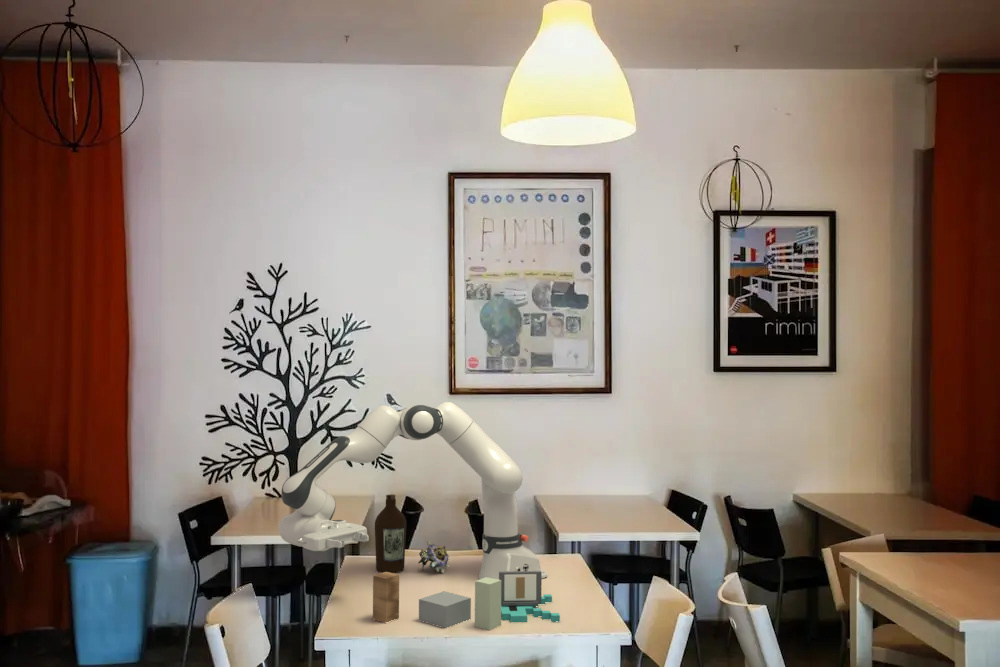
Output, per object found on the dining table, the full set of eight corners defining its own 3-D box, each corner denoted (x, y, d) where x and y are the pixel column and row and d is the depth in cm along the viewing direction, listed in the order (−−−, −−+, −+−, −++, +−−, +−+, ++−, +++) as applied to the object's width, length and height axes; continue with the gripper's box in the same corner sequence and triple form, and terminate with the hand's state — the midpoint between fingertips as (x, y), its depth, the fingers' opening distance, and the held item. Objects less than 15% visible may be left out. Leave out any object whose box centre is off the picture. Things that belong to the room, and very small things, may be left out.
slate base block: (444, 612, 234) (444, 591, 234) (470, 620, 227) (470, 597, 228) (418, 621, 226) (418, 599, 226) (445, 629, 220) (445, 606, 220)
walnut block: (385, 615, 230) (386, 571, 231) (398, 618, 228) (399, 574, 228) (372, 619, 226) (373, 575, 227) (386, 623, 223) (386, 578, 224)
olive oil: (370, 567, 281) (371, 493, 282) (400, 564, 286) (401, 491, 286) (379, 575, 272) (379, 498, 272) (410, 572, 276) (410, 496, 277)
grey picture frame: (539, 599, 239) (539, 568, 239) (541, 605, 234) (541, 572, 234) (498, 600, 238) (498, 568, 238) (499, 605, 233) (499, 573, 233)
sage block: (486, 621, 225) (486, 577, 226) (501, 625, 222) (501, 580, 223) (474, 626, 221) (475, 581, 222) (489, 630, 218) (490, 584, 219)
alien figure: (550, 601, 245) (483, 602, 244) (551, 594, 245) (483, 595, 244) (559, 623, 225) (486, 624, 224) (559, 615, 225) (486, 616, 224)
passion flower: (441, 589, 275) (438, 565, 268) (412, 580, 279) (408, 556, 272) (456, 564, 284) (453, 540, 277) (427, 555, 287) (424, 531, 280)
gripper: (293, 529, 234) (327, 536, 226) (347, 518, 251) (380, 524, 243) (293, 552, 234) (326, 559, 226) (346, 539, 251) (379, 546, 243)
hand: (354, 541), depth 235 cm, fingers open, 8 cm apart
